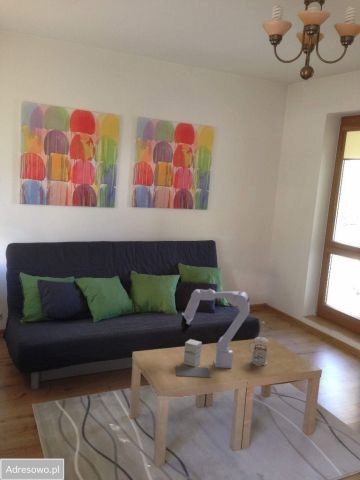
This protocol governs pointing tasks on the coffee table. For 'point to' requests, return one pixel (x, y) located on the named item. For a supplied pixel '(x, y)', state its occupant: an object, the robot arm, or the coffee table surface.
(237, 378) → the coffee table surface
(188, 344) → the supplement box
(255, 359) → the french press
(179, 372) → the mat
